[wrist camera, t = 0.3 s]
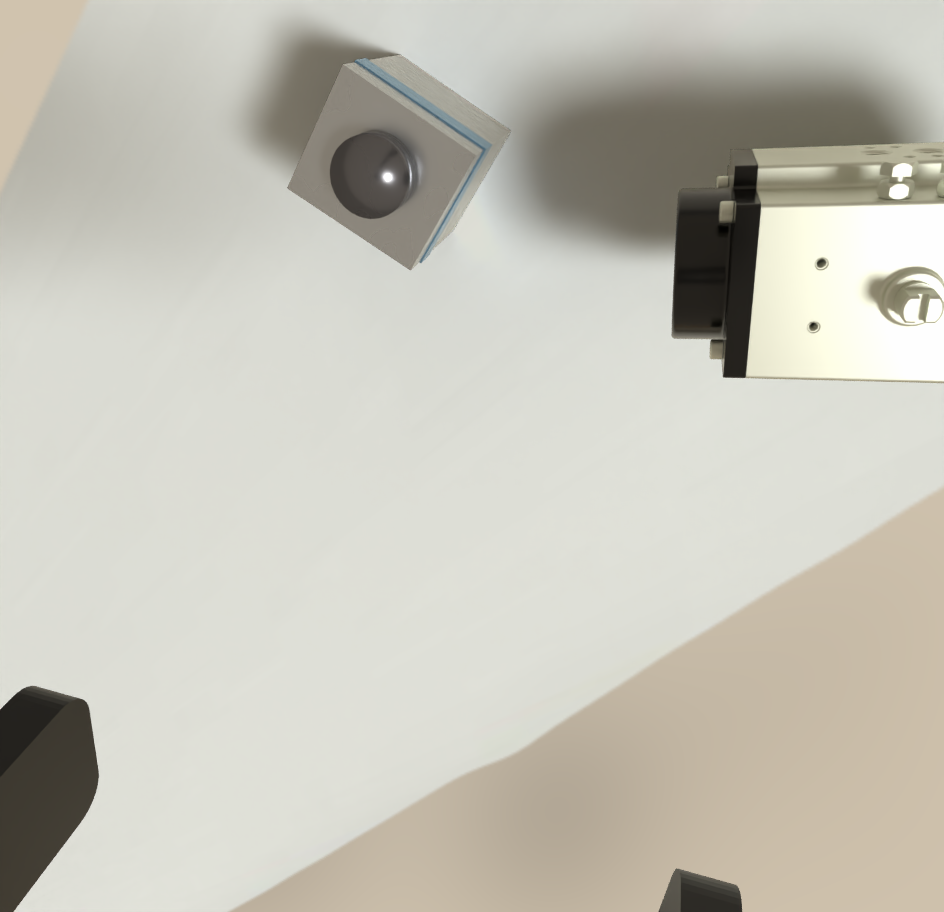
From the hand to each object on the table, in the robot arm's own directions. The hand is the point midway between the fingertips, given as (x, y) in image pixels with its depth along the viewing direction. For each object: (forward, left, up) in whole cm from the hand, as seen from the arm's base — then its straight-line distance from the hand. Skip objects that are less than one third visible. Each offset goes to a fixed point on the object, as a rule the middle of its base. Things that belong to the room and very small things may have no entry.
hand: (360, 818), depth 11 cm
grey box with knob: (-1, -8, -26) cm, 28 cm away
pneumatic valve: (-8, +6, -27) cm, 28 cm away
